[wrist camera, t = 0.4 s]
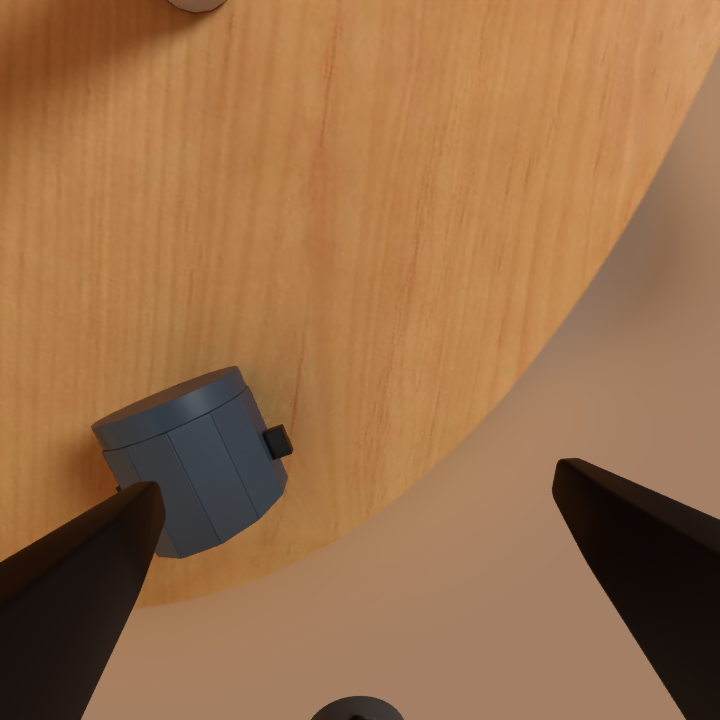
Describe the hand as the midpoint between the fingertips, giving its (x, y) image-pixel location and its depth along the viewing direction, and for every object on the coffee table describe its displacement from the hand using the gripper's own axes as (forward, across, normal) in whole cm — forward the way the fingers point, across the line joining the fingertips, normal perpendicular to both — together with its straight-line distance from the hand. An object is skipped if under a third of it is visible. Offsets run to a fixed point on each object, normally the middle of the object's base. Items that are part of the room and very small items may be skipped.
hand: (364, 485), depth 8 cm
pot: (+14, +8, +6) cm, 17 cm away
